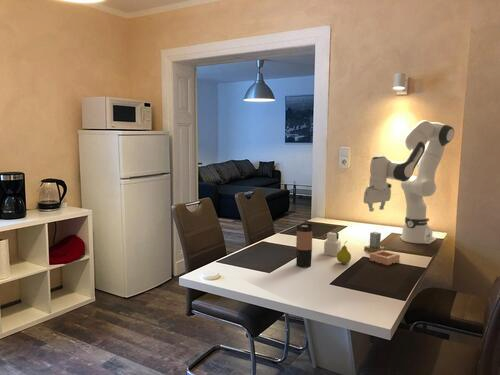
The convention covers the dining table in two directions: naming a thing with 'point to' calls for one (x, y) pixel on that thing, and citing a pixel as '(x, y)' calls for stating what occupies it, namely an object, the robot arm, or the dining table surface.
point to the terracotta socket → (384, 257)
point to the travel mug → (304, 245)
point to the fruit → (343, 255)
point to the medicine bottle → (332, 244)
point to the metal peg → (375, 239)
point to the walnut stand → (373, 249)
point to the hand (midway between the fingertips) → (376, 210)
